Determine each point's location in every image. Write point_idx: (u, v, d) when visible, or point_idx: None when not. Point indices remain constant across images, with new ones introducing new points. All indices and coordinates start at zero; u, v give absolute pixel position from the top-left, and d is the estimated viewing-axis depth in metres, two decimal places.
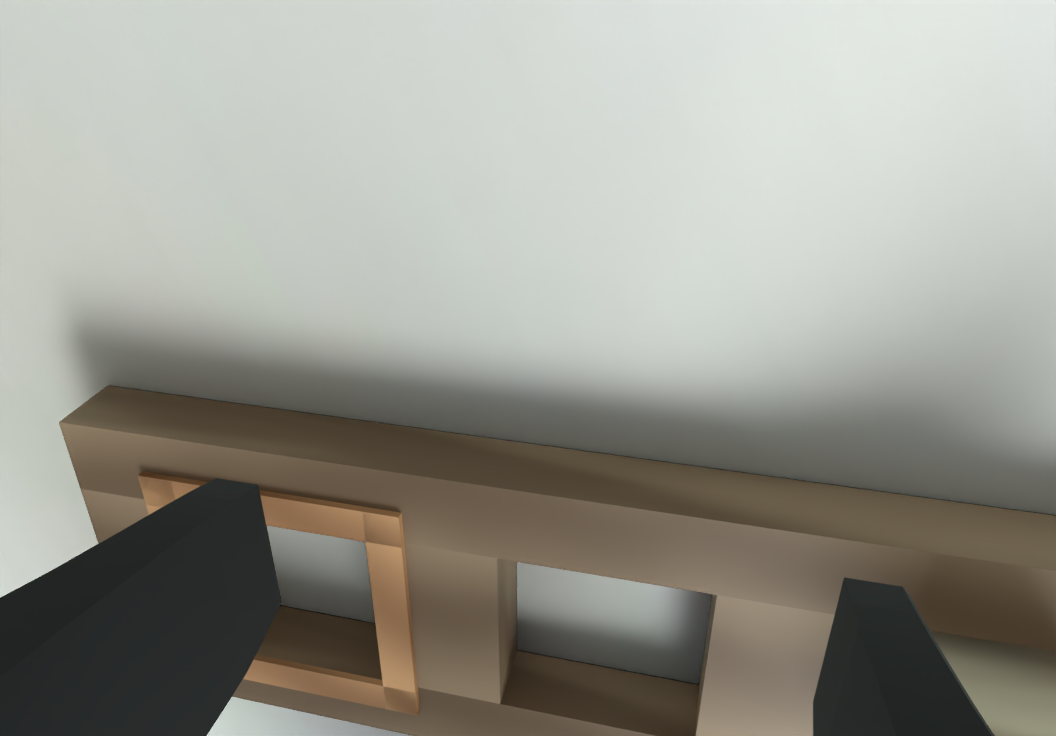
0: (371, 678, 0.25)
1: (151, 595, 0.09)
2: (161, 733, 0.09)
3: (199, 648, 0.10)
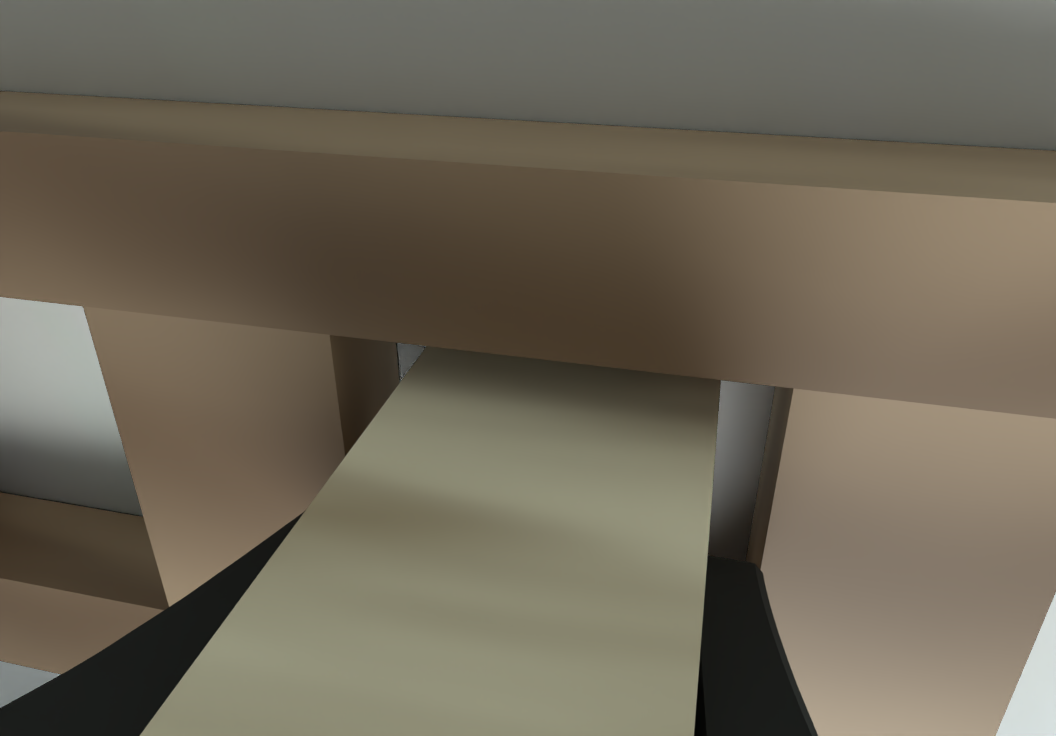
0: None
1: None
2: None
3: None
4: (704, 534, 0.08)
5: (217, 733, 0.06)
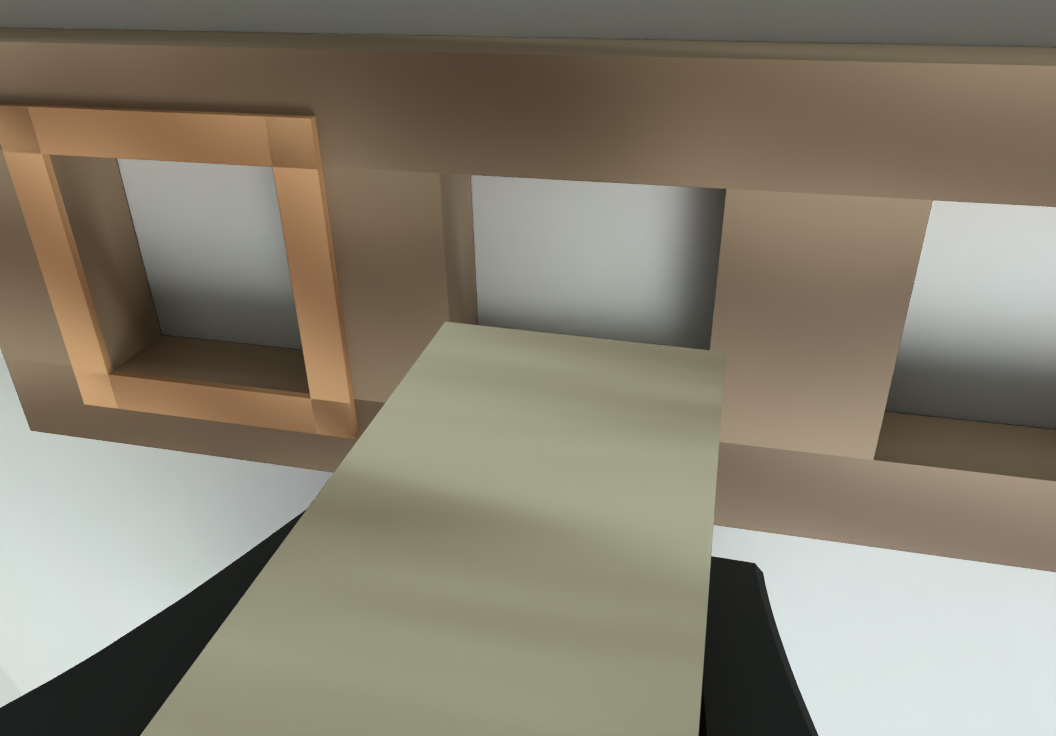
0: (296, 392, 0.20)
1: None
2: None
3: None
4: (708, 531, 0.08)
5: (220, 729, 0.06)
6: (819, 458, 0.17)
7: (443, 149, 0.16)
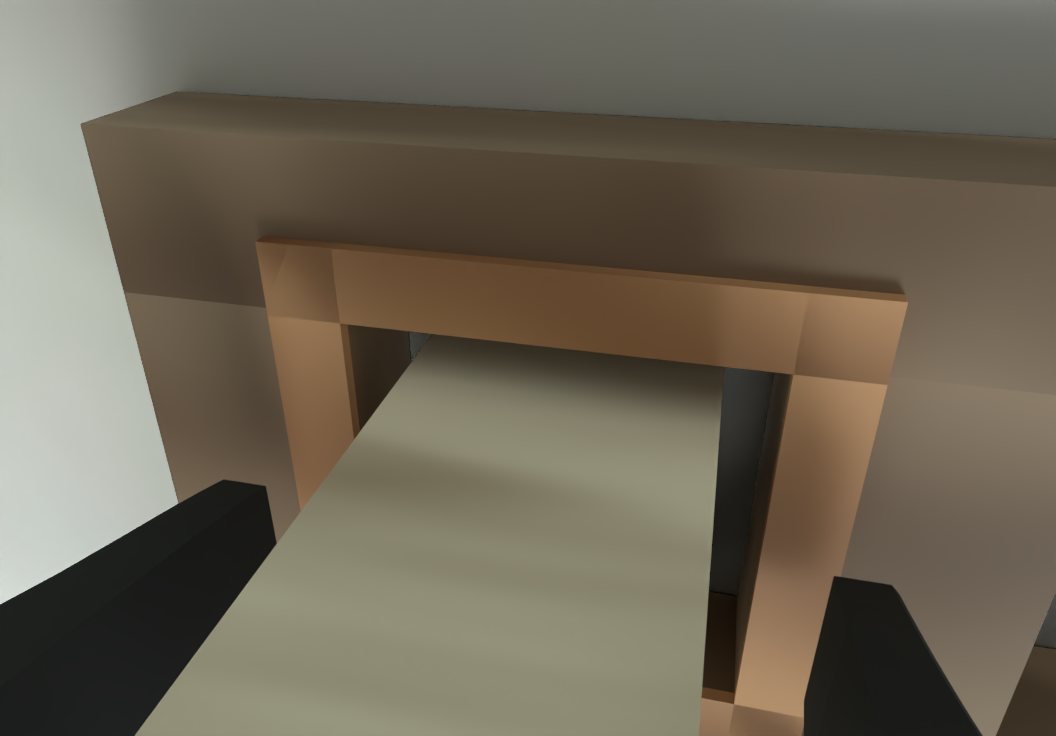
0: (702, 688, 0.12)
1: (160, 597, 0.09)
2: None
3: None
4: (710, 496, 0.09)
5: (254, 672, 0.07)
6: None
7: None
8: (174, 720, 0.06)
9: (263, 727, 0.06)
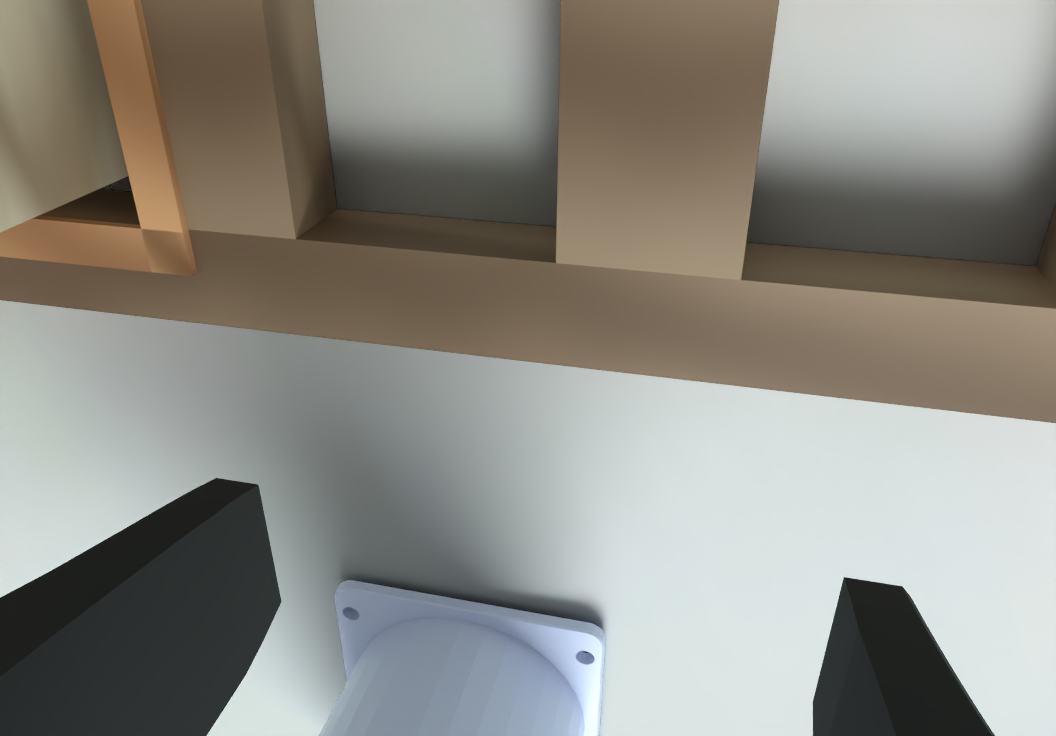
0: (127, 224, 0.18)
1: (151, 595, 0.09)
2: (161, 733, 0.09)
3: (199, 648, 0.10)
4: None
5: None
6: (683, 281, 0.16)
7: None
8: None
9: None
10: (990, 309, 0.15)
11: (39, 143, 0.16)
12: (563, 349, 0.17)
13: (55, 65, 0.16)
